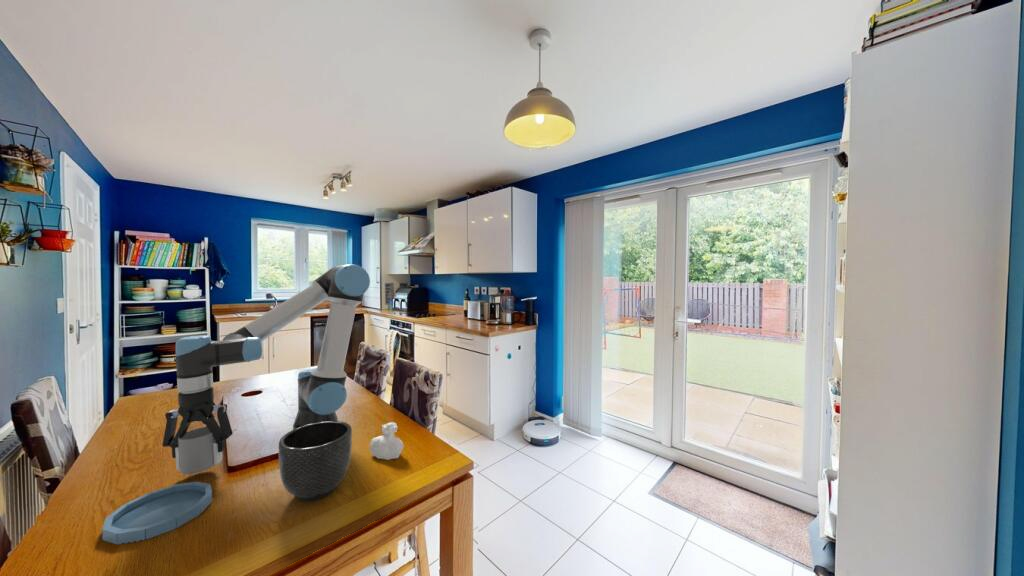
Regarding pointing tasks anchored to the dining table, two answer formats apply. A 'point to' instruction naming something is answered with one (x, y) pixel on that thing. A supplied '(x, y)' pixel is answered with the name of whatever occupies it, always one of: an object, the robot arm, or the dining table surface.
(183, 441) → the cup
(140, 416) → the dining table surface
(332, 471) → the planter
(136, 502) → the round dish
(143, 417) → the dining table surface
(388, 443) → the duck figurine
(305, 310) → the robot arm
